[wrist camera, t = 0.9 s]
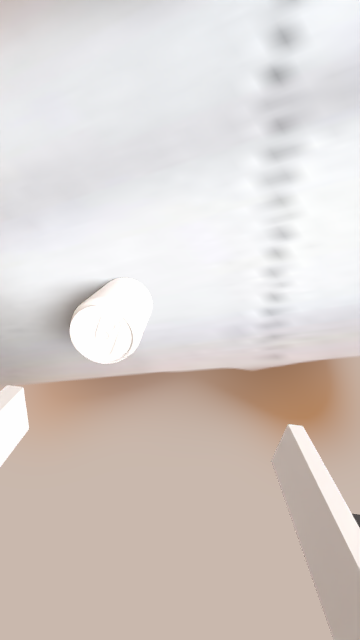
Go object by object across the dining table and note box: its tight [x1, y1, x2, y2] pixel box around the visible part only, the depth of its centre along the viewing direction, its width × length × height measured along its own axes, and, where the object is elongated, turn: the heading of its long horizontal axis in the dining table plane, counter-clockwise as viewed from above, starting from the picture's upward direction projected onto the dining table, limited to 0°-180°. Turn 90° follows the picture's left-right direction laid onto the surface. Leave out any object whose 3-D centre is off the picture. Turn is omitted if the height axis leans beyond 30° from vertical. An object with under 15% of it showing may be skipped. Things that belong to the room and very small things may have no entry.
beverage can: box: [70, 277, 152, 364], centre depth 31 cm, size 8×8×12 cm
